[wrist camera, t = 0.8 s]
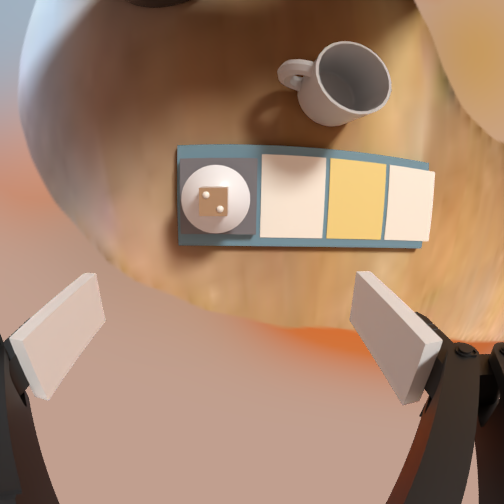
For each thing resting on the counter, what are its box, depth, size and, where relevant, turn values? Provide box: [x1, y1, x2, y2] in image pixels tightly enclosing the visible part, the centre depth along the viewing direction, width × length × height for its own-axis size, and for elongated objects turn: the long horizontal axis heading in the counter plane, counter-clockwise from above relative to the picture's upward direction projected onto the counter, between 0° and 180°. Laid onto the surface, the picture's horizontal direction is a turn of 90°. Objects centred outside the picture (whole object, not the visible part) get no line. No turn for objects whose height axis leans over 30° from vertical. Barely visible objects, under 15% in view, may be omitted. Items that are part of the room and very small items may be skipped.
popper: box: [181, 165, 250, 233], centre depth 27 cm, size 6×6×4 cm
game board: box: [177, 144, 435, 248], centre depth 32 cm, size 11×31×2 cm, turn 89°
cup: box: [277, 41, 391, 127], centre depth 25 cm, size 7×10×9 cm
